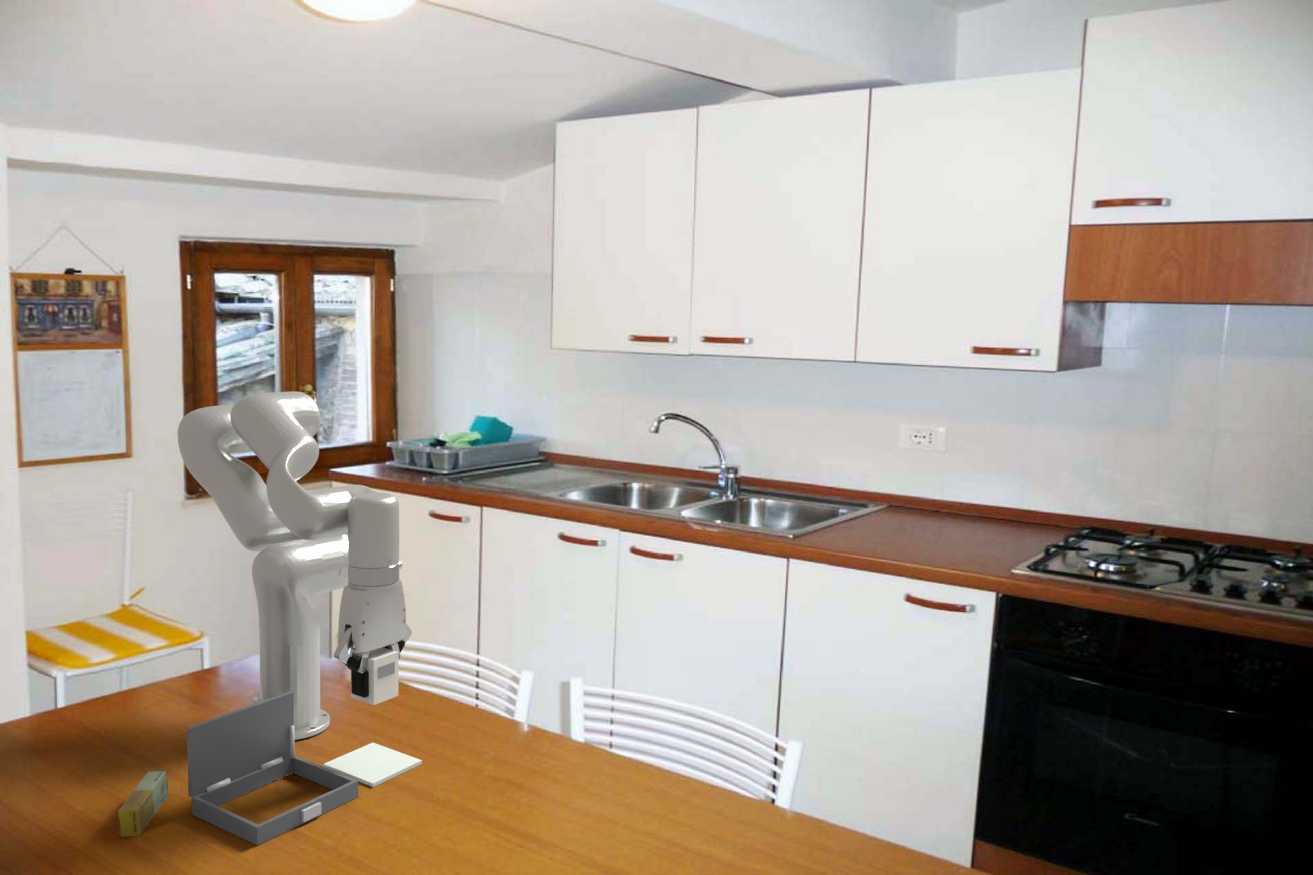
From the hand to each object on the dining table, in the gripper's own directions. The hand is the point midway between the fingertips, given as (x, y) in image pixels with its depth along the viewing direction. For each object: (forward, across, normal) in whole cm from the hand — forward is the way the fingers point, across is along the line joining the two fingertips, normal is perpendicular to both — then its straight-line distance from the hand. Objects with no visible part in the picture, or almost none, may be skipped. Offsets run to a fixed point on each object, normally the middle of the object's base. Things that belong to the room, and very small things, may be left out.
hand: (374, 688), depth 163 cm
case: (+13, +17, -1) cm, 21 cm away
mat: (+13, 0, 0) cm, 13 cm away
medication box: (+13, +29, -14) cm, 35 cm away
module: (+1, 0, 0) cm, 1 cm away
